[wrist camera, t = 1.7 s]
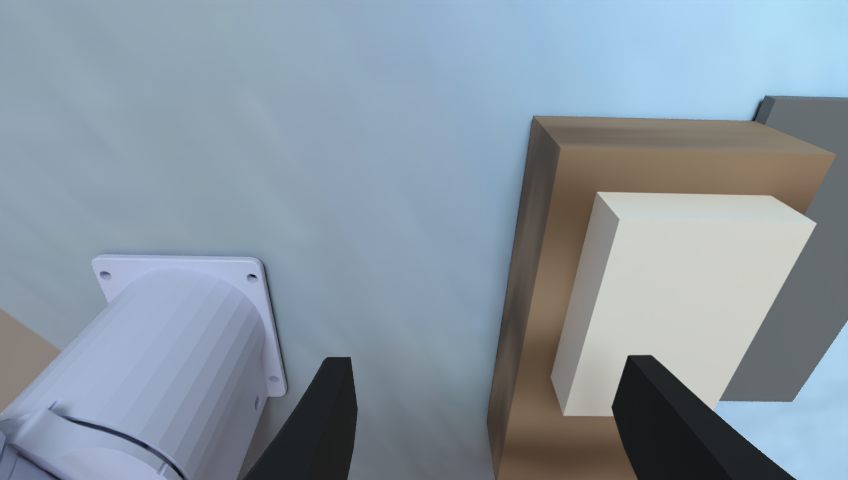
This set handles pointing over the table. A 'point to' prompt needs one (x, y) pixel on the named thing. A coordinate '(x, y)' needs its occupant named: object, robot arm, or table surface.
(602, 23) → the table surface
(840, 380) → the table surface
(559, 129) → the brown wooden block
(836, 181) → the mat
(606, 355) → the cream foam block
